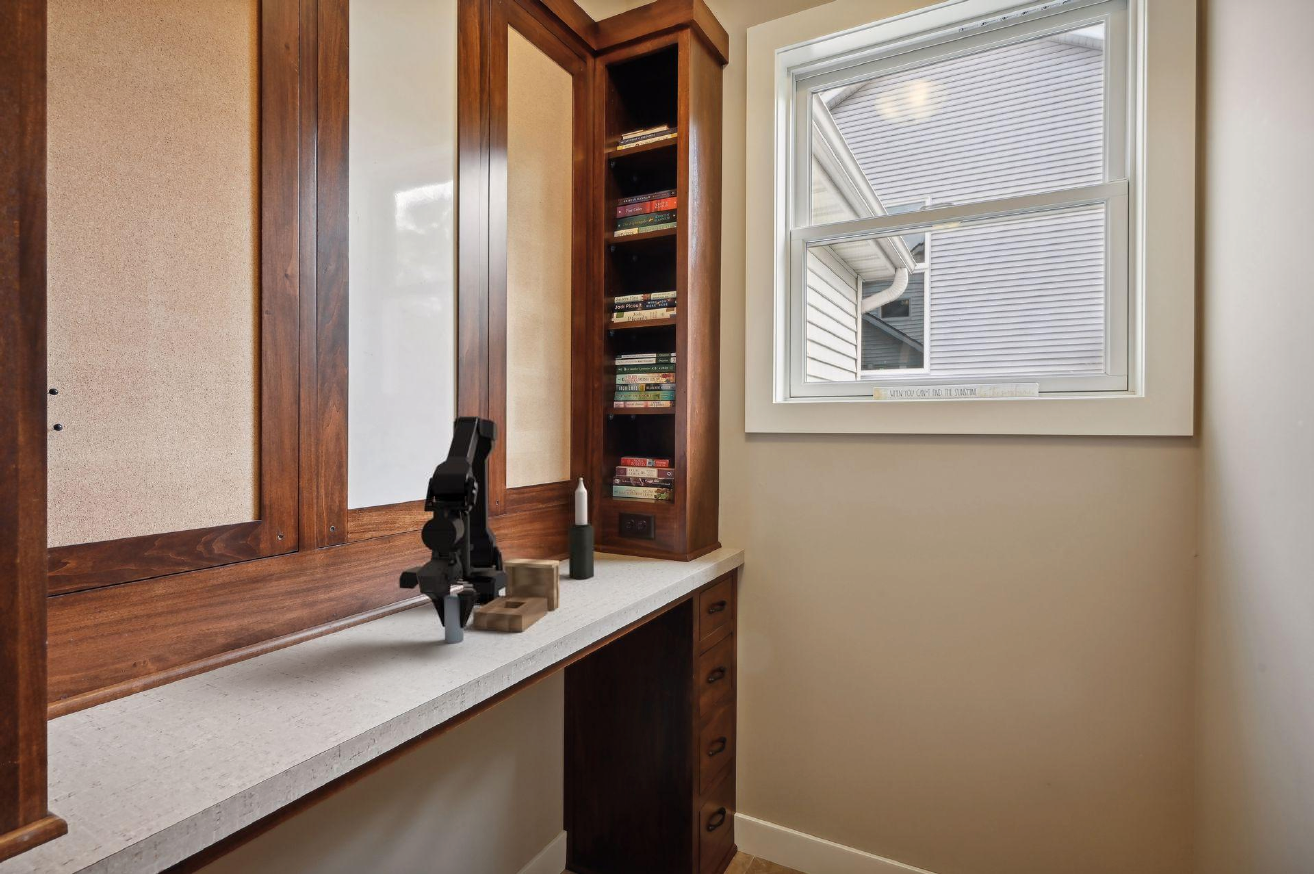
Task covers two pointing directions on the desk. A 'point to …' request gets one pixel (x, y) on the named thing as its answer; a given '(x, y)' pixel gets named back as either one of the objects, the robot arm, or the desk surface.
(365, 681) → the desk surface
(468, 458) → the robot arm
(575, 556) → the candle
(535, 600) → the socket station
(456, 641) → the peg
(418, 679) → the desk surface
